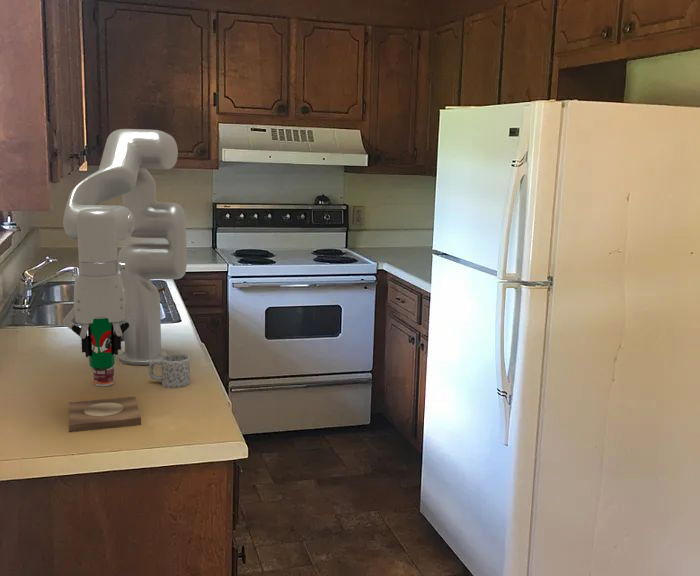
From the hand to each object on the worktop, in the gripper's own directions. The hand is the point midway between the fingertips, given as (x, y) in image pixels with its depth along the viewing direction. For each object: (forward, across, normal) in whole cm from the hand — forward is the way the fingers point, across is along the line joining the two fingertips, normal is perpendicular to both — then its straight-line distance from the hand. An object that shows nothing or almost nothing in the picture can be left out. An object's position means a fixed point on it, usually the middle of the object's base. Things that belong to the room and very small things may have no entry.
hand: (101, 353), depth 156 cm
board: (+14, 0, 0) cm, 14 cm away
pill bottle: (+14, -1, -23) cm, 27 cm away
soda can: (+3, 0, 0) cm, 3 cm away
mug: (+14, -16, -19) cm, 29 cm away
